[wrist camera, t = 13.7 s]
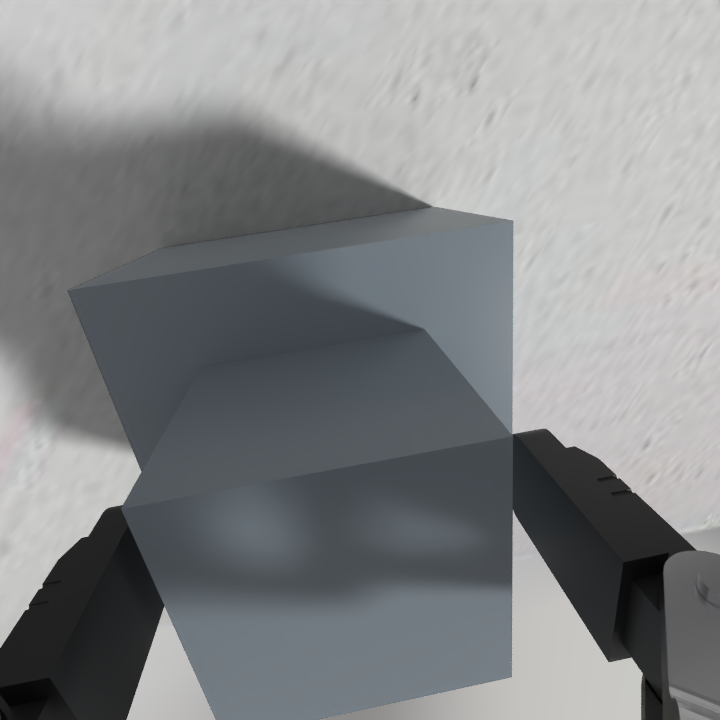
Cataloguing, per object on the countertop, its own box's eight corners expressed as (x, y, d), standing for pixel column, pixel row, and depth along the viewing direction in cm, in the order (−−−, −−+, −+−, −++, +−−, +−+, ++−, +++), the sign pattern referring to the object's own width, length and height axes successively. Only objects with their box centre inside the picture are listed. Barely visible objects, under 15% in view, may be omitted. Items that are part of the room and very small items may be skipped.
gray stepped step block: (433, 206, 16) (687, 251, 5) (448, 433, 20) (611, 720, 9) (161, 248, 16) (-156, 390, 5) (231, 473, 20) (141, 827, 9)
